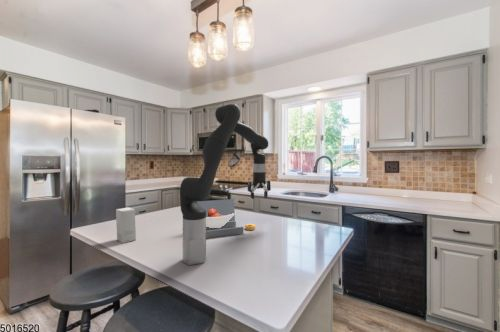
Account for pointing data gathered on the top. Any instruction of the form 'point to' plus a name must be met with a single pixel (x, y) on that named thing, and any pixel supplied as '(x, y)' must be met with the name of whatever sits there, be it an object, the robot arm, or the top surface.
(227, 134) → the robot arm
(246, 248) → the top surface
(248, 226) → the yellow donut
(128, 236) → the skincare box
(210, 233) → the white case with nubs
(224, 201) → the cover
